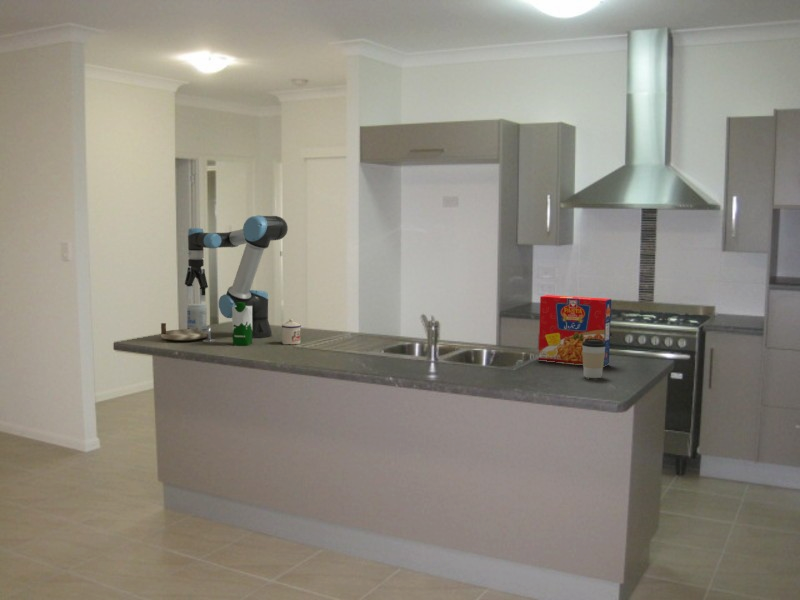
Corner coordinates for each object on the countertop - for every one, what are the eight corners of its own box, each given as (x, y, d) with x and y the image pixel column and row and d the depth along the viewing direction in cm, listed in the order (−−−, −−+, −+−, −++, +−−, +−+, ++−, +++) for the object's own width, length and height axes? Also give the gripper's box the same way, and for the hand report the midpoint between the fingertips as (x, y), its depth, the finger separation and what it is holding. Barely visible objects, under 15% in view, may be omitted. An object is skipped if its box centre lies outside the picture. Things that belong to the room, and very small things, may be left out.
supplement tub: (183, 333, 416) (183, 305, 414) (194, 331, 424) (194, 303, 423) (200, 334, 412) (199, 305, 411) (210, 332, 421) (210, 304, 420)
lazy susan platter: (201, 331, 412) (200, 318, 411) (213, 337, 392) (213, 323, 392) (156, 334, 401) (156, 320, 400) (166, 340, 382) (166, 326, 381)
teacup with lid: (294, 345, 382) (294, 321, 381) (277, 344, 386) (277, 319, 385) (307, 342, 393) (307, 318, 392) (291, 340, 397) (291, 316, 396)
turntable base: (205, 338, 400) (205, 335, 400) (187, 342, 388) (187, 339, 388) (182, 336, 406) (182, 333, 406) (163, 340, 393) (163, 337, 393)
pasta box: (538, 361, 349) (540, 296, 346) (545, 358, 356) (547, 294, 353) (603, 368, 335) (605, 300, 332) (608, 365, 342) (611, 299, 339)
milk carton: (230, 345, 381) (230, 303, 378) (236, 342, 390) (236, 300, 387) (249, 346, 380) (248, 303, 378) (254, 343, 389) (254, 301, 387)
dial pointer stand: (215, 341, 392) (215, 326, 391) (210, 342, 388) (209, 328, 388) (206, 340, 394) (206, 326, 393) (201, 341, 391) (200, 327, 390)
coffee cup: (601, 374, 321) (602, 337, 319) (607, 379, 312) (609, 340, 310) (578, 374, 321) (579, 337, 319) (584, 379, 312) (585, 340, 310)
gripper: (177, 257, 421) (178, 298, 424) (200, 260, 402) (201, 303, 405) (191, 257, 426) (191, 297, 428) (214, 260, 407) (214, 302, 410)
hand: (196, 300), depth 417 cm, fingers open, 13 cm apart
